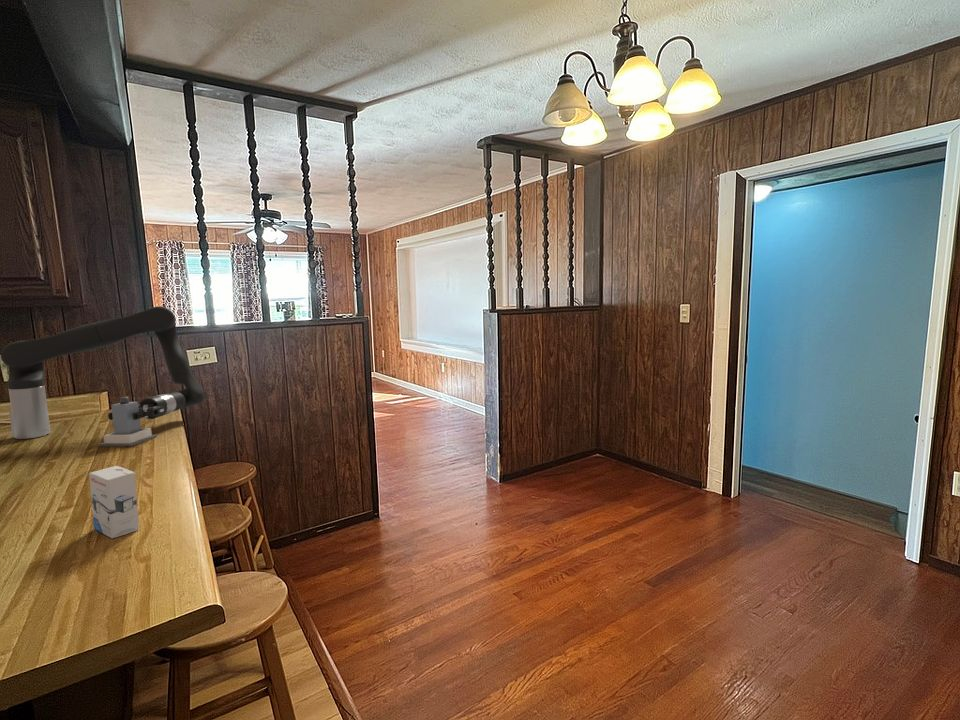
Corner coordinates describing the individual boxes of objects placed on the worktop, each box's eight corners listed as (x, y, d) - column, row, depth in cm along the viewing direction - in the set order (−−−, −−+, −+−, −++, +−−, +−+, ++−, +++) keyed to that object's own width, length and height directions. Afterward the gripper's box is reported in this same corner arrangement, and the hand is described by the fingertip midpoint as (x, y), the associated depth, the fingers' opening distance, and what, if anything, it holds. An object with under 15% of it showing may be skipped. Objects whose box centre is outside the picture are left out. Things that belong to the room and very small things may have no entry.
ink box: (93, 529, 98) (86, 472, 96) (122, 519, 102) (116, 465, 100) (112, 539, 93) (105, 480, 92) (142, 529, 97) (135, 472, 96)
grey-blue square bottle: (115, 441, 159) (110, 398, 157) (127, 436, 164) (123, 395, 162) (129, 441, 158) (124, 398, 157) (141, 437, 163) (137, 395, 162)
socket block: (99, 446, 156) (97, 436, 156) (126, 436, 167) (125, 427, 167) (131, 446, 155) (130, 436, 155) (156, 436, 166) (155, 427, 166)
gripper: (138, 395, 174) (99, 405, 158) (176, 395, 173) (140, 405, 157) (140, 416, 175) (102, 427, 159) (178, 416, 174) (143, 428, 158)
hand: (121, 416), depth 158 cm, fingers open, 8 cm apart
